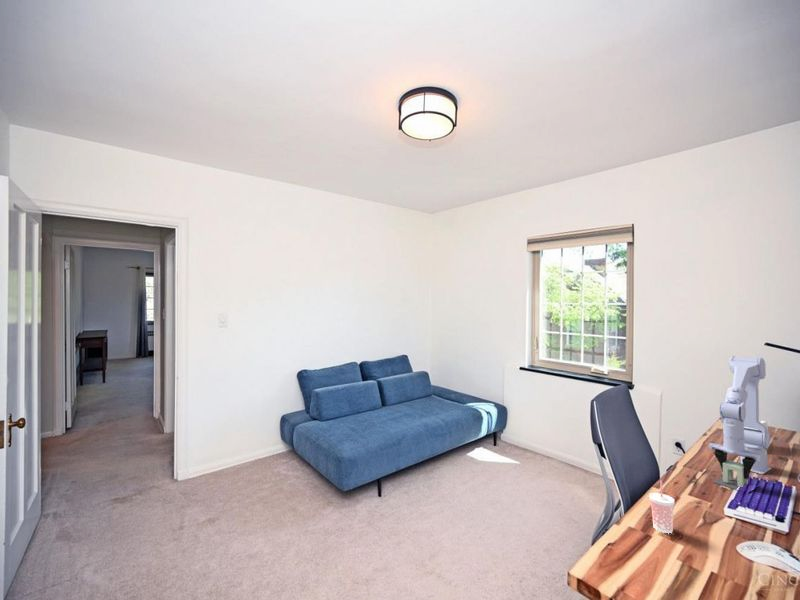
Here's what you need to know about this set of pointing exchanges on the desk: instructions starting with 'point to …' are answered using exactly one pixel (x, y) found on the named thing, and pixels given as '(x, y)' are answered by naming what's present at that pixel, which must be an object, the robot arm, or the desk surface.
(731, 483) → the felt pad
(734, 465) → the slotted sage cube
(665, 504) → the beverage cup
